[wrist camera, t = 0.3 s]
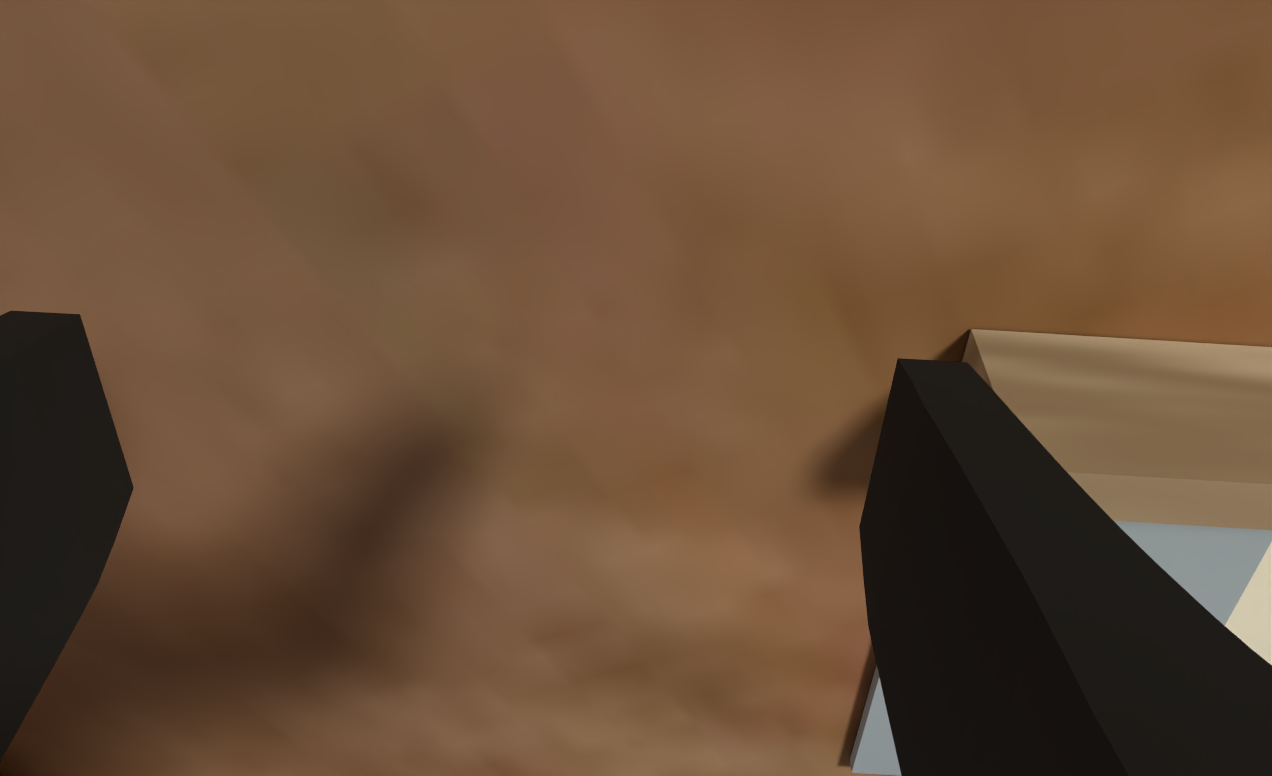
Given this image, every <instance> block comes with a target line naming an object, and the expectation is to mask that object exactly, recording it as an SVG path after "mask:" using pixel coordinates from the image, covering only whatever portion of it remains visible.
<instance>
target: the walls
mask: <svg viewBox="0 0 1272 776" xmlns="http://www.w3.org/2000/svg"><path fill="white" fill-rule="evenodd" d="M962 362H967V363H968V364H969V365H970V366H971V367H972V368H973V369H974V370H975V371H976V372H977V373H978V374H979V375H980V376H981V377H982V378H983V380H984V381H985V382H986V383H987V384H988V385H989V386H990V387H991V388H992V390H993V391H994V392H995V393H996V394H997V395H998V396H999V397H1000V398H1001V400H1002V401H1003V402H1004V403H1005V404H1006V405H1007V406H1008V407H1009V409H1010V410H1011V411H1012V412H1013V413H1014V414H1015V415H1016V416H1017V418H1018V419H1019V420H1020V421H1021V422H1022V423H1023V424H1024V425H1025V426H1026V428H1027V429H1028V430H1029V431H1030V432H1031V433H1032V434H1033V435H1034V436H1035V438H1036V439H1037V440H1038V441H1039V442H1040V443H1041V444H1042V445H1043V446H1044V447H1045V449H1046V450H1047V451H1048V452H1049V453H1050V454H1051V455H1052V456H1053V457H1054V459H1055V460H1056V461H1057V462H1058V463H1059V464H1060V465H1061V466H1062V467H1063V468H1064V469H1065V470H1066V471H1067V473H1068V474H1069V475H1070V476H1071V477H1072V478H1073V479H1074V480H1075V481H1076V482H1077V483H1078V484H1079V485H1080V486H1081V487H1082V489H1083V490H1084V491H1085V492H1086V493H1087V494H1088V495H1089V496H1090V497H1091V498H1092V499H1093V500H1094V501H1095V502H1096V503H1097V504H1098V505H1099V506H1100V507H1101V508H1102V509H1103V510H1104V511H1105V512H1106V514H1107V515H1108V516H1109V517H1110V518H1111V519H1112V520H1113V521H1125V522H1142V523H1158V524H1175V525H1192V526H1209V527H1226V528H1242V529H1259V530H1272V347H1258V346H1242V345H1225V344H1209V343H1192V342H1176V341H1159V340H1143V339H1126V338H1109V337H1093V336H1076V335H1060V334H1043V333H1027V332H1010V331H993V330H977V329H971V332H970V335H969V339H968V342H967V346H966V349H965V353H964V356H963V360H962Z"/></svg>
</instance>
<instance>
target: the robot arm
mask: <svg viewBox="0 0 1272 776" xmlns="http://www.w3.org/2000/svg"><path fill="white" fill-rule="evenodd" d="M132 491H133V484H132V481H131V478H130V475H129V471H128V468H127V465H126V462H125V459H124V455H123V452H122V449H121V446H120V442H119V439H118V436H117V433H116V429H115V426H114V423H113V420H112V417H111V413H110V410H109V407H108V404H107V400H106V397H105V394H104V391H103V387H102V384H101V381H100V378H99V375H98V371H97V368H96V365H95V362H94V358H93V355H92V352H91V349H90V346H89V342H88V339H87V336H86V333H85V329H84V326H83V323H82V320H81V316H80V314H62V313H43V312H24V311H10V312H7V313H5V314H3V315H1V316H0V761H1V759H2V757H3V755H4V753H5V752H6V750H7V748H8V746H9V745H10V743H11V741H12V739H13V737H14V736H15V734H16V732H17V730H18V728H19V727H20V725H21V723H22V721H23V719H24V718H25V716H26V714H27V712H28V711H29V709H30V707H31V705H32V703H33V702H34V700H35V698H36V696H37V694H38V693H39V691H40V689H41V687H42V685H43V684H44V682H45V680H46V678H47V677H48V675H49V673H50V671H51V669H52V668H53V666H54V664H55V662H56V660H57V659H58V657H59V655H60V653H61V651H62V649H63V648H64V646H65V644H66V642H67V640H68V638H69V637H70V635H71V633H72V631H73V629H74V627H75V626H76V624H77V622H78V620H79V618H80V616H81V615H82V613H83V611H84V609H85V607H86V605H87V603H88V601H89V600H90V598H91V596H92V594H93V592H94V590H95V588H96V586H97V584H98V582H99V579H100V577H101V574H102V572H103V569H104V567H105V564H106V562H107V559H108V557H109V554H110V552H111V549H112V547H113V544H114V542H115V539H116V536H117V533H118V530H119V528H120V525H121V522H122V519H123V516H124V513H125V511H126V508H127V505H128V502H129V499H130V496H131V494H132ZM859 528H860V540H861V552H862V564H863V576H864V587H865V597H866V607H867V616H868V626H869V631H870V636H871V640H872V645H873V650H874V655H875V659H876V664H877V668H878V673H879V677H880V682H881V687H882V691H883V696H884V700H885V705H886V709H887V714H888V718H889V723H890V727H891V731H892V736H893V740H894V745H895V749H896V754H897V758H898V762H899V767H900V771H901V776H1272V665H1271V664H1269V663H1268V662H1267V661H1266V660H1264V659H1263V658H1262V657H1261V656H1260V655H1258V654H1257V653H1256V652H1255V651H1253V650H1252V649H1251V648H1250V647H1249V646H1247V645H1246V644H1245V643H1244V642H1243V641H1242V640H1241V639H1239V638H1238V637H1237V636H1236V635H1235V634H1234V633H1232V632H1231V631H1230V630H1229V629H1228V628H1227V627H1225V626H1224V625H1223V624H1222V623H1221V622H1220V621H1219V620H1217V619H1216V618H1215V617H1214V616H1213V615H1212V614H1211V613H1210V612H1209V611H1208V610H1206V609H1205V608H1204V607H1203V606H1202V605H1201V604H1200V603H1199V602H1198V601H1197V600H1196V599H1195V598H1194V597H1192V596H1191V595H1190V594H1189V593H1188V592H1187V591H1186V590H1185V589H1184V588H1183V587H1182V586H1181V585H1180V584H1178V583H1177V582H1176V581H1175V580H1174V579H1173V578H1172V577H1171V576H1170V575H1169V574H1168V573H1167V572H1166V571H1164V570H1163V569H1162V568H1161V567H1160V566H1159V565H1158V564H1157V563H1156V562H1155V561H1154V560H1153V559H1152V558H1151V557H1150V556H1149V555H1148V554H1147V553H1146V552H1145V551H1144V550H1142V549H1141V548H1140V547H1139V546H1138V545H1137V544H1136V543H1135V542H1134V541H1133V540H1132V539H1131V538H1130V537H1129V536H1128V535H1127V534H1126V533H1125V532H1124V531H1123V530H1122V529H1121V528H1120V527H1119V526H1118V525H1117V524H1116V523H1115V522H1114V521H1113V520H1112V519H1111V518H1110V517H1109V516H1108V515H1107V514H1106V512H1105V511H1104V510H1103V509H1102V508H1101V507H1100V506H1099V505H1098V504H1097V503H1096V502H1095V501H1094V500H1093V499H1092V498H1091V497H1090V496H1089V495H1088V494H1087V493H1086V492H1085V491H1084V490H1083V489H1082V487H1081V486H1080V485H1079V484H1078V483H1077V482H1076V481H1075V480H1074V479H1073V478H1072V477H1071V476H1070V475H1069V474H1068V473H1067V471H1066V470H1065V469H1064V468H1063V467H1062V466H1061V465H1060V464H1059V463H1058V462H1057V461H1056V460H1055V459H1054V457H1053V456H1052V455H1051V454H1050V453H1049V452H1048V451H1047V450H1046V449H1045V447H1044V446H1043V445H1042V444H1041V443H1040V442H1039V441H1038V440H1037V439H1036V438H1035V436H1034V435H1033V434H1032V433H1031V432H1030V431H1029V430H1028V429H1027V428H1026V426H1025V425H1024V424H1023V423H1022V422H1021V421H1020V420H1019V419H1018V418H1017V416H1016V415H1015V414H1014V413H1013V412H1012V411H1011V410H1010V409H1009V407H1008V406H1007V405H1006V404H1005V403H1004V402H1003V401H1002V400H1001V398H1000V397H999V396H998V395H997V394H996V393H995V392H994V391H993V390H992V388H991V387H990V386H989V385H988V384H987V383H986V382H985V381H984V380H983V378H982V377H981V376H980V375H979V374H978V373H977V372H976V371H975V370H974V369H973V368H972V367H971V366H970V365H969V364H968V363H967V362H954V361H935V360H916V359H898V360H897V364H896V368H895V373H894V377H893V382H892V386H891V390H890V395H889V399H888V404H887V408H886V412H885V417H884V421H883V426H882V430H881V434H880V439H879V443H878V448H877V452H876V456H875V461H874V465H873V469H872V474H871V478H870V483H869V487H868V491H867V496H866V500H865V505H864V509H863V513H862V518H861V522H860V527H859Z"/></svg>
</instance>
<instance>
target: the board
mask: <svg viewBox="0 0 1272 776" xmlns="http://www.w3.org/2000/svg"><path fill="white" fill-rule="evenodd" d="M1114 522H1115V523H1116V524H1117V525H1118V526H1119V527H1120V528H1121V529H1122V530H1123V531H1124V532H1125V533H1126V534H1127V535H1128V536H1129V537H1130V538H1131V539H1132V540H1133V541H1134V542H1135V543H1136V544H1137V545H1138V546H1139V547H1140V548H1141V549H1142V550H1144V551H1145V552H1146V553H1147V554H1148V555H1149V556H1150V557H1151V558H1152V559H1153V560H1154V561H1155V562H1156V563H1157V564H1158V565H1159V566H1160V567H1161V568H1162V569H1163V570H1164V571H1166V572H1167V573H1168V574H1169V575H1170V576H1171V577H1172V578H1173V579H1174V580H1175V581H1176V582H1177V583H1178V584H1180V585H1181V586H1182V587H1183V588H1184V589H1185V590H1186V591H1187V592H1188V593H1189V594H1190V595H1191V596H1192V597H1194V598H1195V599H1196V600H1197V601H1198V602H1199V603H1200V604H1201V605H1202V606H1203V607H1204V608H1205V609H1206V610H1208V611H1209V612H1210V613H1211V614H1212V615H1213V616H1214V617H1215V618H1216V619H1217V620H1219V621H1220V622H1221V623H1222V624H1223V625H1224V626H1225V627H1227V628H1228V629H1229V630H1230V631H1231V632H1232V633H1234V634H1235V635H1236V636H1237V637H1238V638H1239V639H1241V640H1242V641H1243V642H1244V643H1245V644H1246V645H1247V646H1249V647H1250V648H1251V649H1252V650H1253V651H1255V652H1256V653H1257V654H1258V655H1260V656H1261V657H1262V658H1263V659H1264V660H1266V661H1267V662H1268V663H1269V664H1271V665H1272V530H1259V529H1242V528H1226V527H1209V526H1192V525H1175V524H1158V523H1142V522H1125V521H1114ZM850 764H851V771H852V773H866V774H883V775H900V776H901V771H900V767H899V762H898V758H897V754H896V749H895V745H894V740H893V736H892V731H891V727H890V723H889V718H888V714H887V709H886V705H885V700H884V696H883V691H882V687H881V682H880V677H879V673H878V668H877V665H876V668H875V672H874V676H873V679H872V683H871V686H870V690H869V693H868V697H867V700H866V704H865V707H864V711H863V715H862V718H861V722H860V725H859V729H858V732H857V736H856V739H855V743H854V747H853V750H852V754H851V757H850Z"/></svg>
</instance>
